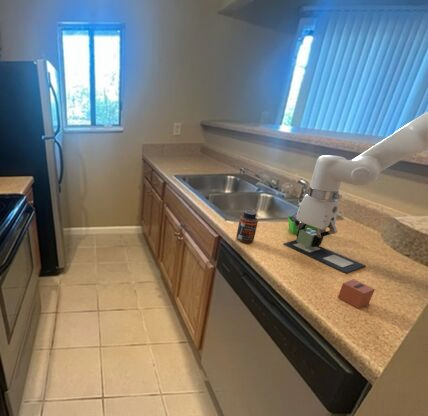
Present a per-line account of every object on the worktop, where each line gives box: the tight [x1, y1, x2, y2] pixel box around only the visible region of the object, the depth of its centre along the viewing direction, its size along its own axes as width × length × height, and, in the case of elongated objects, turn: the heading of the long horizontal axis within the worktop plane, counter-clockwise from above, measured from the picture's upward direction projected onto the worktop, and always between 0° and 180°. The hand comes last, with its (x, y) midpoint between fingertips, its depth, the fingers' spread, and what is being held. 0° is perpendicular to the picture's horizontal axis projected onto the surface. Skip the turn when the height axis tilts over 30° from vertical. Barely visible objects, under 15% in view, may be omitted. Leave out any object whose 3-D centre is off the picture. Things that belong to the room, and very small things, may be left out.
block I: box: [337, 278, 376, 309], centre depth 71 cm, size 5×5×5 cm
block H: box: [296, 228, 317, 247], centre depth 96 cm, size 5×5×5 cm
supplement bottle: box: [235, 209, 259, 244], centre depth 101 cm, size 6×6×11 cm
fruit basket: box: [287, 215, 317, 235], centre depth 107 cm, size 11×9×11 cm
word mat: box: [282, 239, 366, 274], centre depth 93 cm, size 20×10×1 cm, turn 22°
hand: (307, 242), depth 96 cm, fingers closed on block H, 4 cm apart
